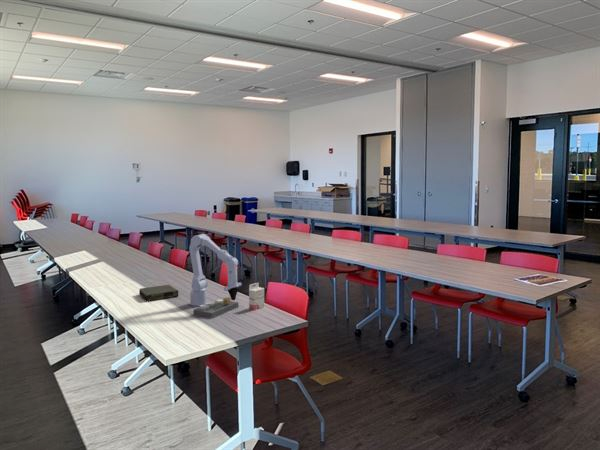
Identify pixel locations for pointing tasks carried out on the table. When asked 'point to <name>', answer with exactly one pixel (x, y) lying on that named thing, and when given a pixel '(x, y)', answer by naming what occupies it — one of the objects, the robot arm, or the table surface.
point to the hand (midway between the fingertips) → (233, 299)
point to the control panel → (215, 310)
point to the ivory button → (219, 301)
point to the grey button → (204, 307)
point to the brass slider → (226, 301)
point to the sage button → (212, 304)
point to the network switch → (158, 292)
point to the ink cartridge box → (256, 296)
